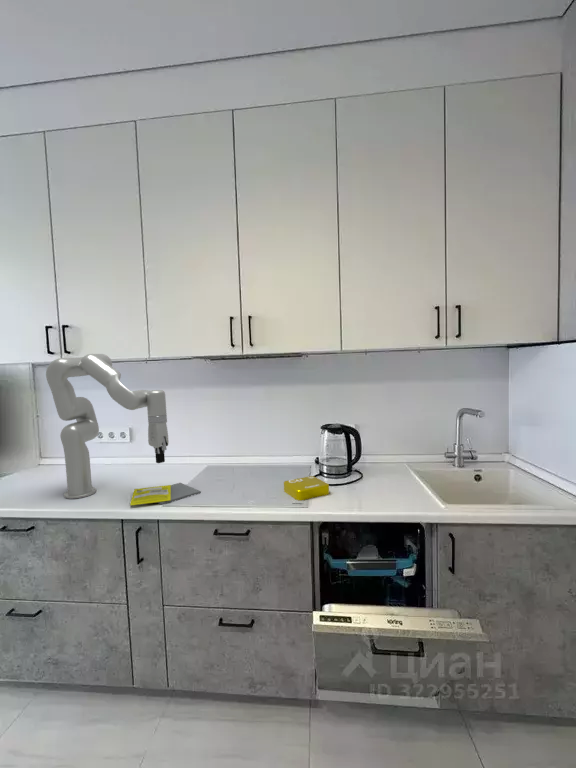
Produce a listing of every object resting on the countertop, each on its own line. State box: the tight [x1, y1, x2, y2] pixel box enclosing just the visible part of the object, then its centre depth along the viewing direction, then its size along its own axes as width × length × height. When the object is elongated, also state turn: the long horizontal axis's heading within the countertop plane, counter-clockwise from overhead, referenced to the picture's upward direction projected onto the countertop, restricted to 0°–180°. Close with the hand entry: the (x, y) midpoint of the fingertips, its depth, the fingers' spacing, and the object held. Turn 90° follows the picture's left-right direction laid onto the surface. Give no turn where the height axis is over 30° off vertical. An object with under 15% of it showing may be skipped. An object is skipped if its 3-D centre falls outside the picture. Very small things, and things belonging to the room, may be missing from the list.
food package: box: [129, 484, 172, 506], centre depth 169 cm, size 15×1×20 cm
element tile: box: [283, 475, 330, 502], centre depth 167 cm, size 15×15×5 cm
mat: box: [155, 482, 202, 506], centre depth 172 cm, size 18×18×1 cm
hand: (160, 462), depth 170 cm, fingers closed
